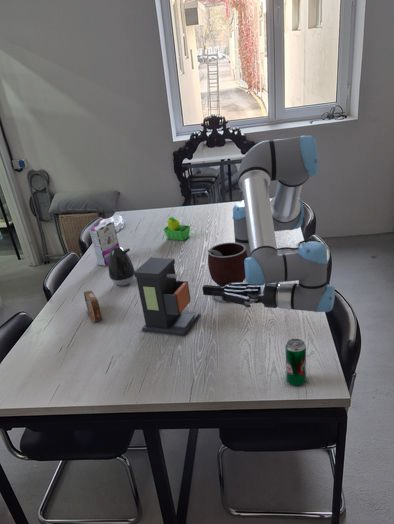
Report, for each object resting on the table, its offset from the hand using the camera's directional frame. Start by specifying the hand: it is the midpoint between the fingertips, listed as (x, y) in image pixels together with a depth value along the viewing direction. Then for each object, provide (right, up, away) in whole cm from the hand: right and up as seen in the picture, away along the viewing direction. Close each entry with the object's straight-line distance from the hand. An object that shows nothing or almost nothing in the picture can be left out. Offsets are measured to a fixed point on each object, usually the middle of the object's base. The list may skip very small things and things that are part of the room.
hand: (203, 289), depth 149 cm
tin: (-38, -7, +24) cm, 46 cm away
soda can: (+24, -27, -21) cm, 42 cm away
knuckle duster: (-47, +46, +106) cm, 125 cm away
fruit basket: (-11, +34, +81) cm, 88 cm away
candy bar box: (-41, +21, +67) cm, 81 cm away
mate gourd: (+10, +1, +25) cm, 26 cm away
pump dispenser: (-31, +8, +45) cm, 55 cm away
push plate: (-6, -5, +7) cm, 11 cm away
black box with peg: (-11, -10, +12) cm, 19 cm away
